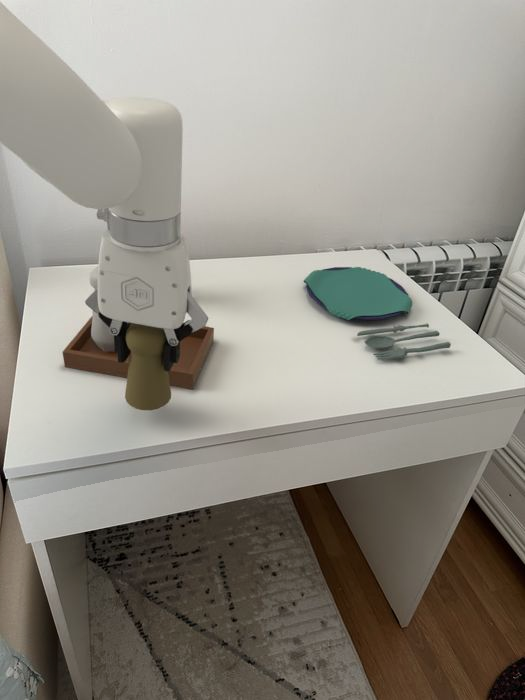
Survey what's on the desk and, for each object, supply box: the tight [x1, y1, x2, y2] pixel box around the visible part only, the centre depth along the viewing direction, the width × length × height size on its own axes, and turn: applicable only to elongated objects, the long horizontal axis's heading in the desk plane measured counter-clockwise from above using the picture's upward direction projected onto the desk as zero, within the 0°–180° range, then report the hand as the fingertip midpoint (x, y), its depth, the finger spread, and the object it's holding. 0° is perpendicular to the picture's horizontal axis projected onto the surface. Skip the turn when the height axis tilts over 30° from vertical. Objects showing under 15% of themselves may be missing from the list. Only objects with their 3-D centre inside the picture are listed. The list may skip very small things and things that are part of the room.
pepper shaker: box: [124, 323, 172, 411], centre depth 68 cm, size 6×6×11 cm
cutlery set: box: [303, 266, 452, 361], centre depth 99 cm, size 20×30×2 cm, turn 19°
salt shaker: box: [89, 266, 128, 352], centre depth 80 cm, size 6×6×13 cm
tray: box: [62, 315, 215, 390], centre depth 83 cm, size 20×13×3 cm, turn 81°
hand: (147, 359), depth 68 cm, fingers closed on pepper shaker, 5 cm apart
